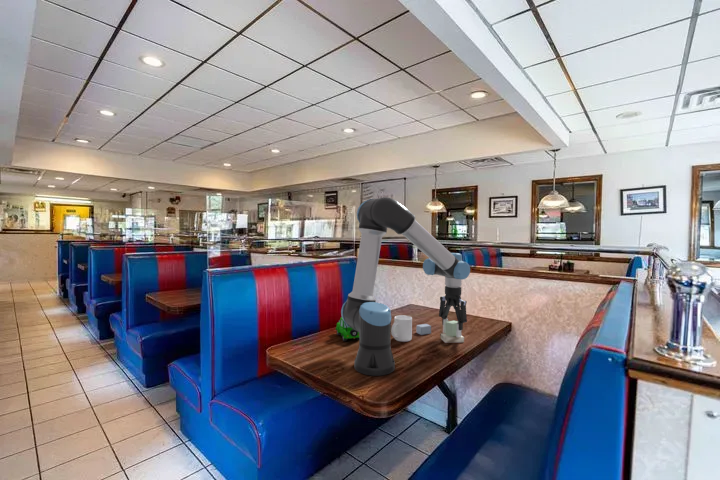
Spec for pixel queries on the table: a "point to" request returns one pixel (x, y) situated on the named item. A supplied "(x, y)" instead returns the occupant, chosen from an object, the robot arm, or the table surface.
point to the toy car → (346, 331)
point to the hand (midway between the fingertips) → (452, 334)
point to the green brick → (451, 328)
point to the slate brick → (423, 329)
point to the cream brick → (451, 339)
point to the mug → (402, 328)
